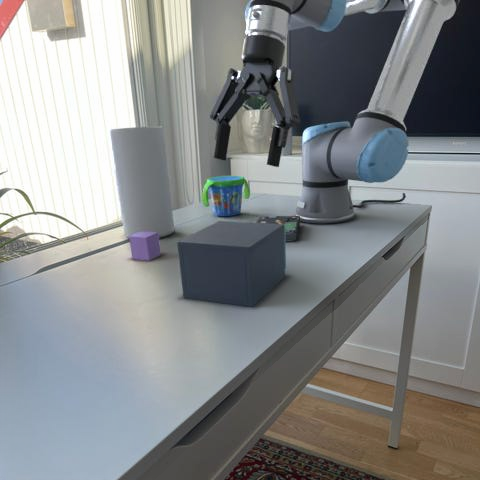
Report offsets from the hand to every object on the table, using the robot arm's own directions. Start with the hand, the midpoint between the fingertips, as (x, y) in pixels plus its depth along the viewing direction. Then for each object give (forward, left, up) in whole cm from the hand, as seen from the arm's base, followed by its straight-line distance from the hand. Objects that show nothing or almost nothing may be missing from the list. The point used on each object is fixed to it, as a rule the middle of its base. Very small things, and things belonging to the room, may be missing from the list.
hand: (245, 162), depth 91 cm
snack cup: (-11, -41, -19) cm, 47 cm away
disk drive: (-13, -13, -19) cm, 26 cm away
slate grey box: (+9, +16, -19) cm, 26 cm away
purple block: (+19, -11, -19) cm, 29 cm away
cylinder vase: (+14, -31, -19) cm, 39 cm away
